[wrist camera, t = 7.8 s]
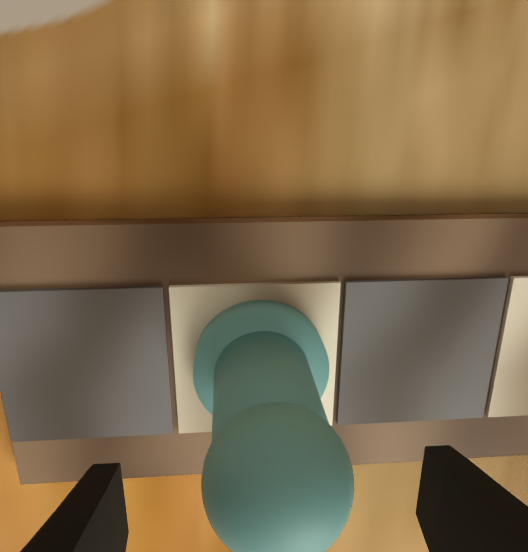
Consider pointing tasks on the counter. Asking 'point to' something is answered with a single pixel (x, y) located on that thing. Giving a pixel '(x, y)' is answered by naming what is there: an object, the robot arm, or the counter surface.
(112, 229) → the board
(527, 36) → the counter surface
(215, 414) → the pawn
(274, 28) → the counter surface
